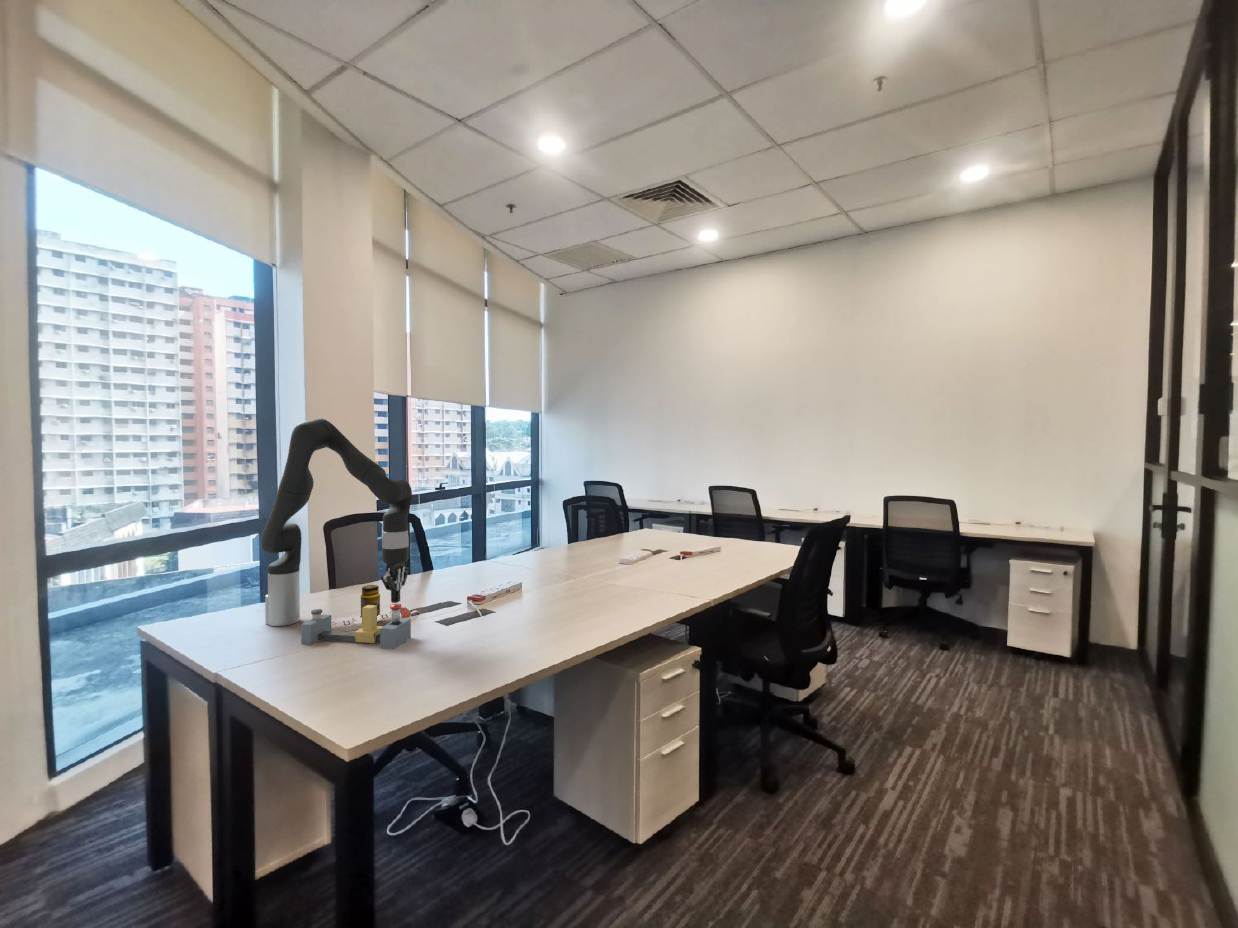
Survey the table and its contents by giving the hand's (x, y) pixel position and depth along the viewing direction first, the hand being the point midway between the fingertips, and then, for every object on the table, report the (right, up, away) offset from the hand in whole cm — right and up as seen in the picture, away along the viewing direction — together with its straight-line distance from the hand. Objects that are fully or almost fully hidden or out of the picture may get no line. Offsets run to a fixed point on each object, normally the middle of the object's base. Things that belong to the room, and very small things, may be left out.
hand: (395, 602), depth 170 cm
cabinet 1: (-26, -12, +4) cm, 29 cm away
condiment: (-18, -12, +21) cm, 30 cm away
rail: (-13, -12, +2) cm, 18 cm away
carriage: (-9, -13, +2) cm, 15 cm away
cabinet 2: (0, -13, +1) cm, 13 cm away
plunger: (0, -7, 0) cm, 7 cm away
